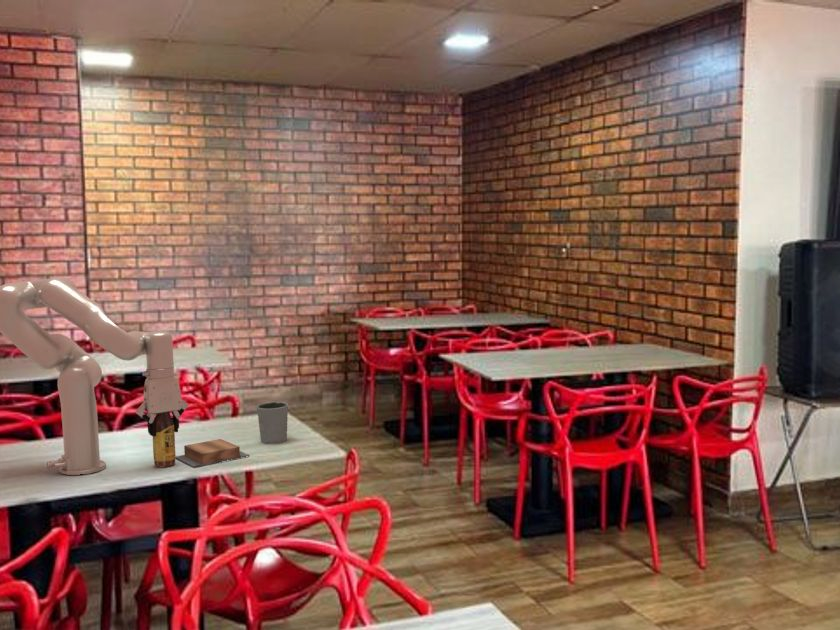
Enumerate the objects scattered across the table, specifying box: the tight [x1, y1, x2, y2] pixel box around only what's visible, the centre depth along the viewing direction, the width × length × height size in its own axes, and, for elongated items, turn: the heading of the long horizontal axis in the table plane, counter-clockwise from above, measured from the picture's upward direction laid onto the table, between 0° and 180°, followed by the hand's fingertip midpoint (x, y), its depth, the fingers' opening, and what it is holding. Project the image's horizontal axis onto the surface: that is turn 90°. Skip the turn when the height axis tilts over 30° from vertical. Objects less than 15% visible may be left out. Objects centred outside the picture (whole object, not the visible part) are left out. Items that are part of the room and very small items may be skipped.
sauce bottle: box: [152, 412, 177, 468], centre depth 242 cm, size 6×6×20 cm
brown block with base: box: [175, 438, 250, 469], centre depth 250 cm, size 18×14×4 cm
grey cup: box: [256, 401, 289, 445], centre depth 269 cm, size 10×10×12 cm
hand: (163, 432), depth 242 cm, fingers closed on sauce bottle, 6 cm apart
